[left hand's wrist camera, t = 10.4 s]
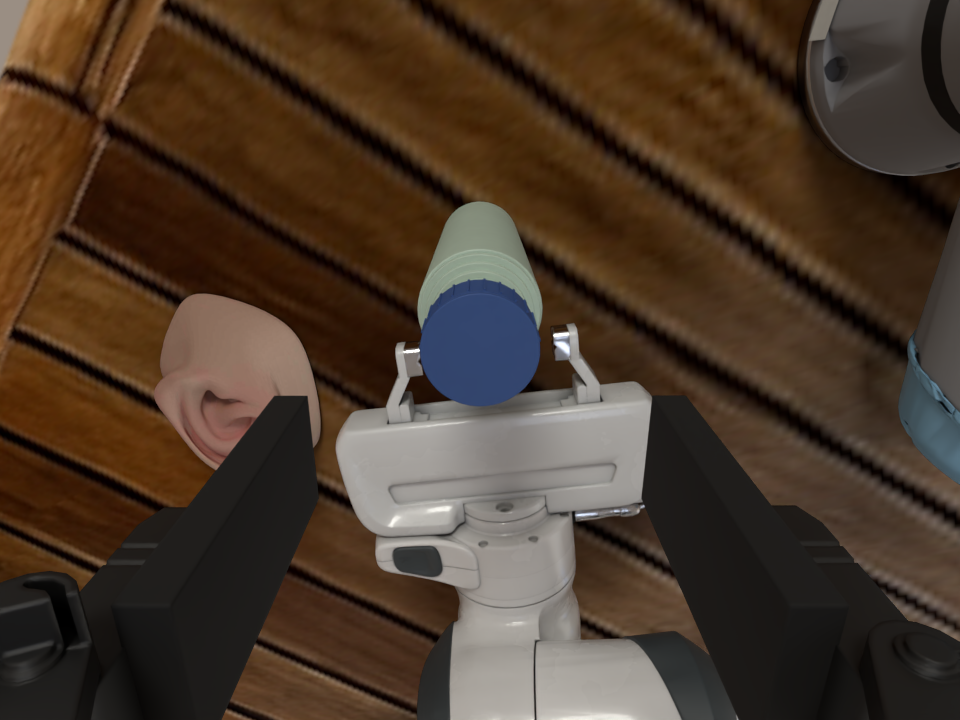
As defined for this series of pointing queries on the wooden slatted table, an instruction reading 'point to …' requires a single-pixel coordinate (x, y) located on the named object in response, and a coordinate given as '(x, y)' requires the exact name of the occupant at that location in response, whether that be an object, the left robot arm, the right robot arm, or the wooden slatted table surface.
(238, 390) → the anatomical model
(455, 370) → the cap
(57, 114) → the wooden slatted table surface
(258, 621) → the left robot arm
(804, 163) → the wooden slatted table surface
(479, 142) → the wooden slatted table surface
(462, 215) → the bottle
